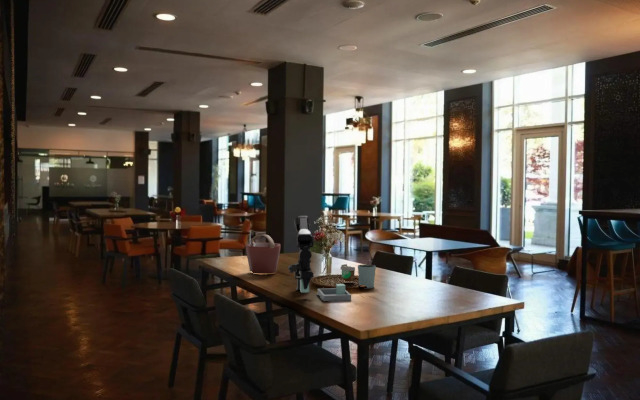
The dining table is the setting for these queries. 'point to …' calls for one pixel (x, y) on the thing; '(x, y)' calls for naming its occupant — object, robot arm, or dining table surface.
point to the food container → (347, 272)
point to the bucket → (263, 255)
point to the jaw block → (303, 287)
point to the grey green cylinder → (366, 275)
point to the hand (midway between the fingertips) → (304, 288)
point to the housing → (335, 294)
